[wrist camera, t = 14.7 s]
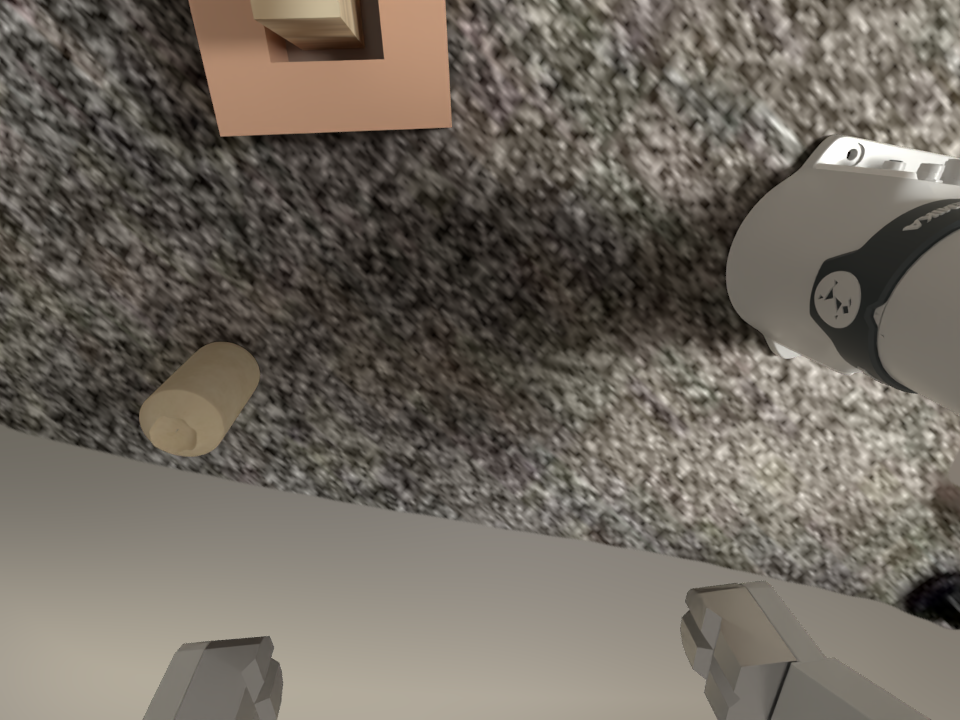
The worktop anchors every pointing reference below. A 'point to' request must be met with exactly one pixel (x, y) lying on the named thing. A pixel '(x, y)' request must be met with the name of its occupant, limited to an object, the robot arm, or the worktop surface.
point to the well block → (326, 72)
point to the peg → (313, 22)
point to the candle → (200, 400)
